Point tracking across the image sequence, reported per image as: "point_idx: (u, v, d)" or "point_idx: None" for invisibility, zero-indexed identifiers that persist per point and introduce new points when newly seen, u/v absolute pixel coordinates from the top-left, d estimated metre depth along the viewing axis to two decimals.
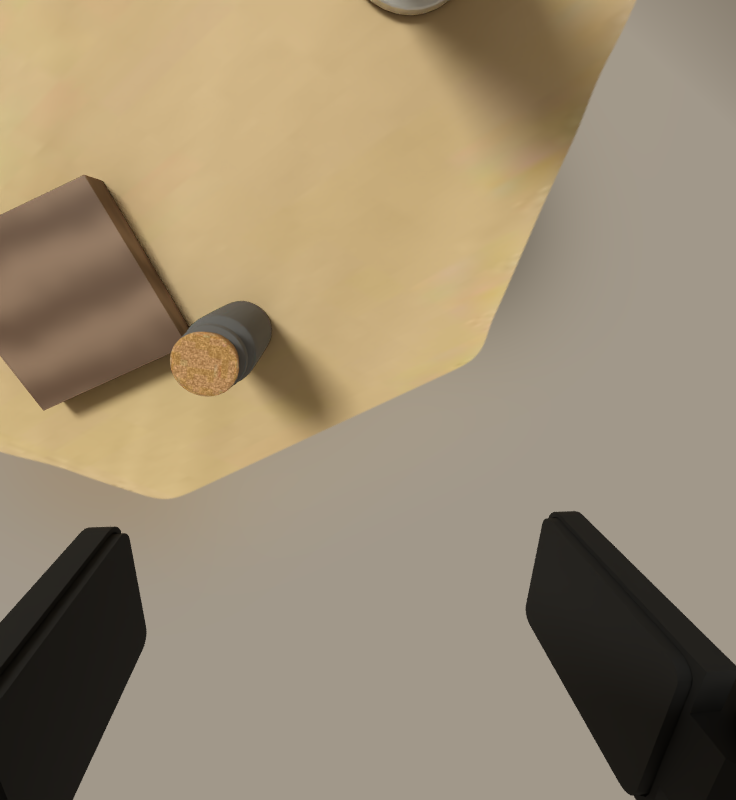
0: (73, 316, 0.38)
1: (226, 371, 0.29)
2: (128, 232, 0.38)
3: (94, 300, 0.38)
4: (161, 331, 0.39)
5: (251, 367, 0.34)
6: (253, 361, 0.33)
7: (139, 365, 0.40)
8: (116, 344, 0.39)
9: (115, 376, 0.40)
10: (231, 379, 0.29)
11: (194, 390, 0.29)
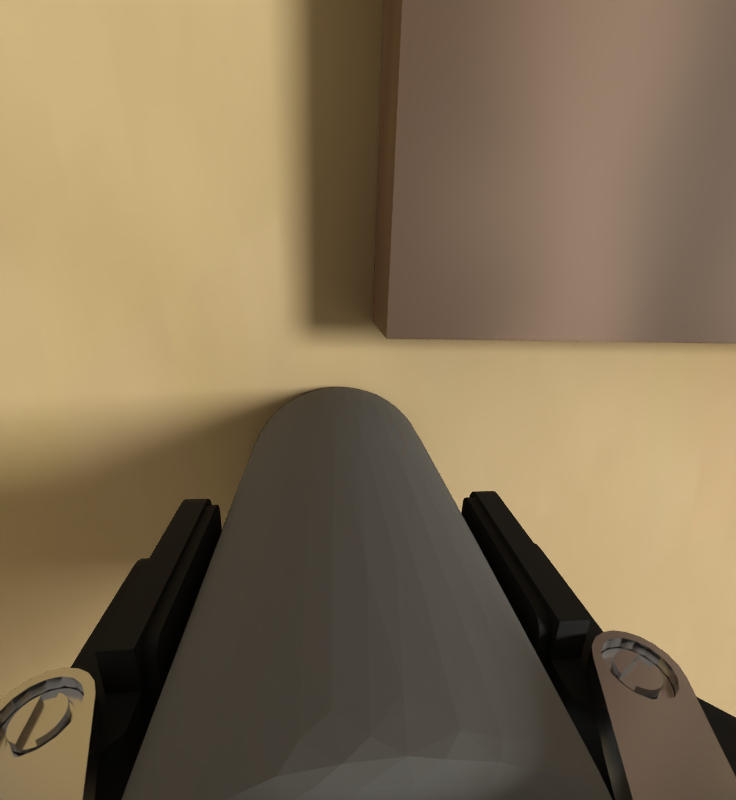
0: None
1: None
2: None
3: (716, 100, 0.09)
4: (479, 278, 0.10)
5: None
6: None
7: (405, 83, 0.08)
8: (539, 48, 0.08)
9: None
10: None
11: None
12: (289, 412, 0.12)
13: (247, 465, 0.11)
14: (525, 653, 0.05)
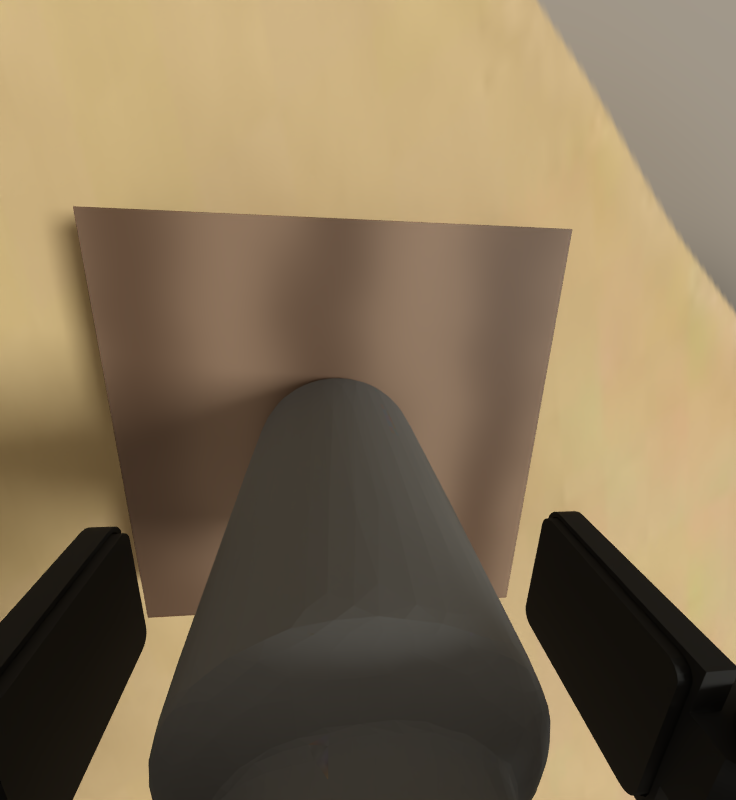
0: None
1: None
2: None
3: None
4: (196, 587, 0.17)
5: None
6: None
7: (133, 514, 0.16)
8: (203, 495, 0.16)
9: (121, 452, 0.15)
10: None
11: None
12: (292, 400, 0.13)
13: (256, 446, 0.13)
14: (476, 573, 0.07)
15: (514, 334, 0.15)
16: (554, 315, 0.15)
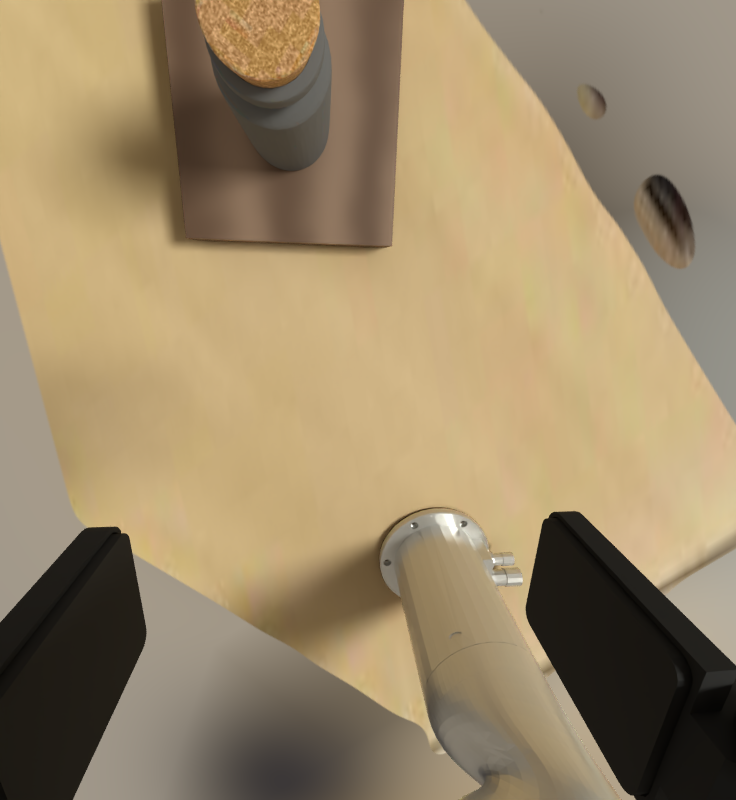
0: None
1: (232, 39, 0.16)
2: (332, 244, 0.34)
3: None
4: (213, 218, 0.31)
5: (227, 97, 0.20)
6: (235, 106, 0.20)
7: (180, 162, 0.30)
8: (217, 152, 0.30)
9: (175, 119, 0.29)
10: (215, 40, 0.16)
11: None
12: None
13: None
14: None
15: (380, 58, 0.29)
16: None
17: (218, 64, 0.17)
